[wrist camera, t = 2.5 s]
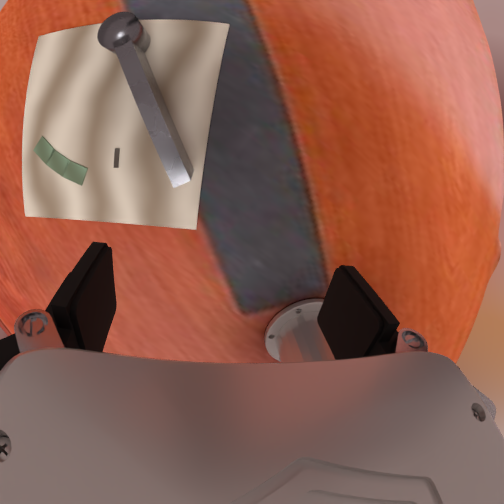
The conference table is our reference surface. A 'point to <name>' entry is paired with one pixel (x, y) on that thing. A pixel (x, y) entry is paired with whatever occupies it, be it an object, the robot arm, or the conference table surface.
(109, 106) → the dial plate
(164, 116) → the pointer lever
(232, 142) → the conference table surface
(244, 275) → the conference table surface
